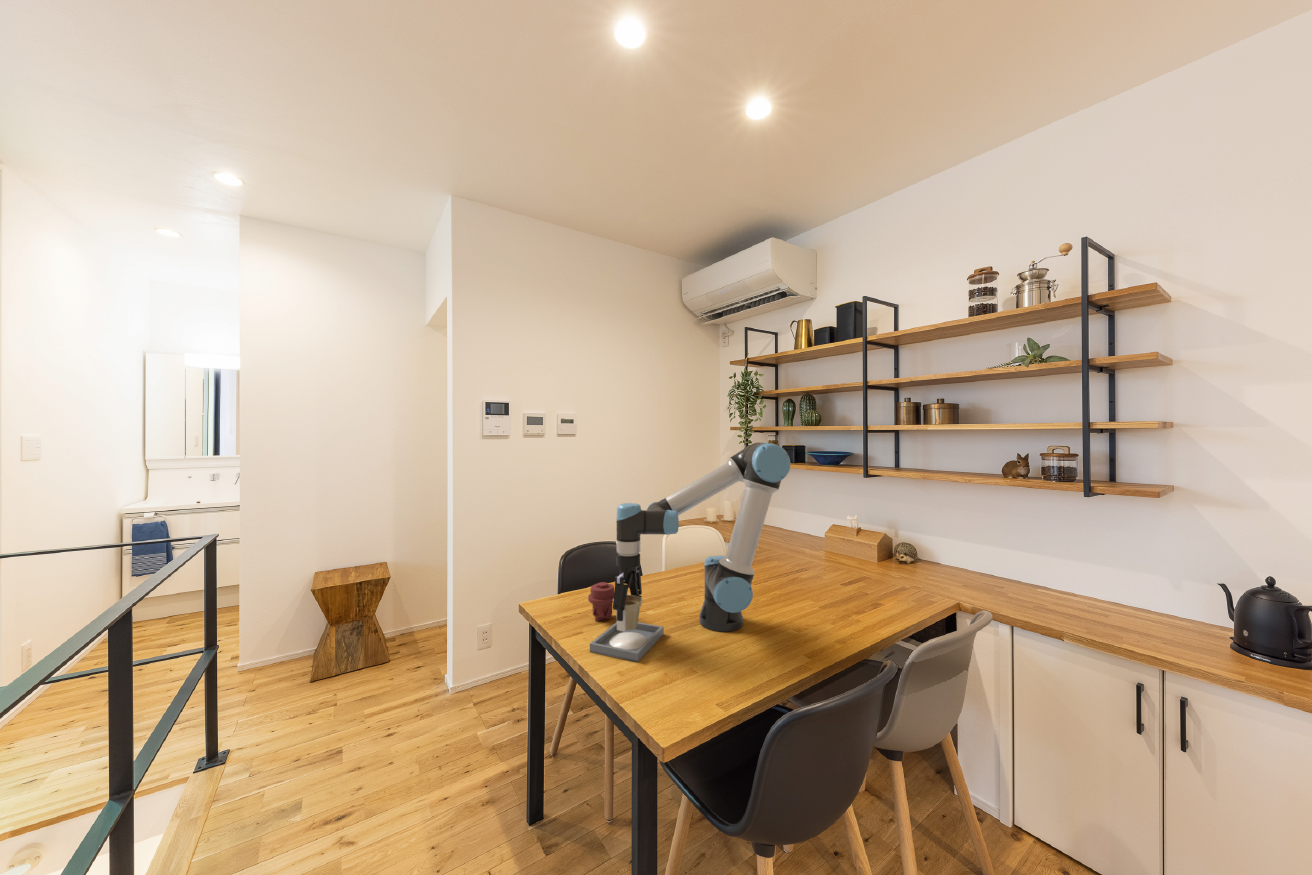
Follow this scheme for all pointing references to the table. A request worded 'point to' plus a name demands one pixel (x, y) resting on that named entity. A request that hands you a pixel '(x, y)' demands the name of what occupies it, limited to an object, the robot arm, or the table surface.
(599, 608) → the mechanical component
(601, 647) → the housing tray
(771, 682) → the table surface
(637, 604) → the flower pot
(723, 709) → the table surface
